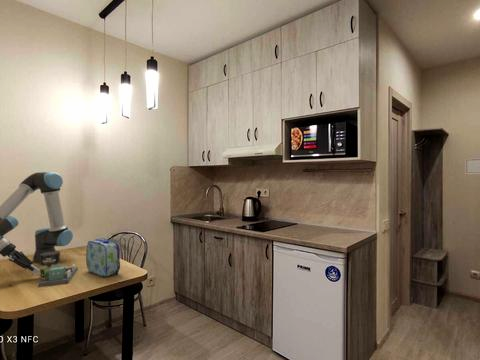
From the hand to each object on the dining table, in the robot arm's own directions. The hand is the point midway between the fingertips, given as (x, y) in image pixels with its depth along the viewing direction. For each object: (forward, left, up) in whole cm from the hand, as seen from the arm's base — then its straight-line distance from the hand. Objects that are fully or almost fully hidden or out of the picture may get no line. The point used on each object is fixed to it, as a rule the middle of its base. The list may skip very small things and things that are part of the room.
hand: (38, 273), depth 170 cm
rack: (+4, +12, -3) cm, 13 cm away
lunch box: (+5, +36, -3) cm, 36 cm away
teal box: (+11, +12, -3) cm, 16 cm away
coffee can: (-1, +6, -3) cm, 7 cm away
